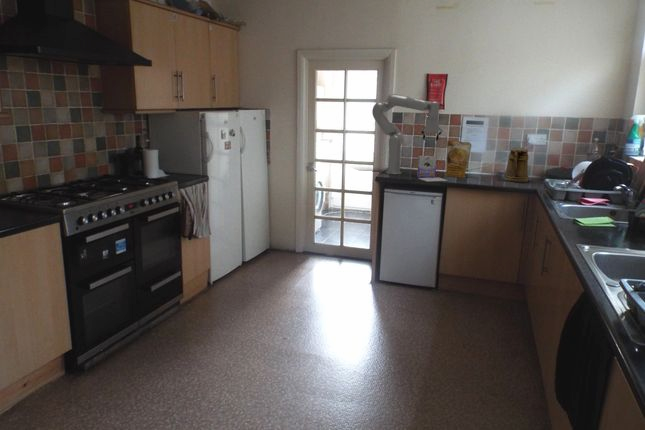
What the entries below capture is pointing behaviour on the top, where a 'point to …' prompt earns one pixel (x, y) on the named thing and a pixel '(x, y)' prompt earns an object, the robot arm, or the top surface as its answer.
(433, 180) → the mat
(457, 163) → the pancake mix bag
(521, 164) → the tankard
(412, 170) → the top surface
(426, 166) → the candy box
